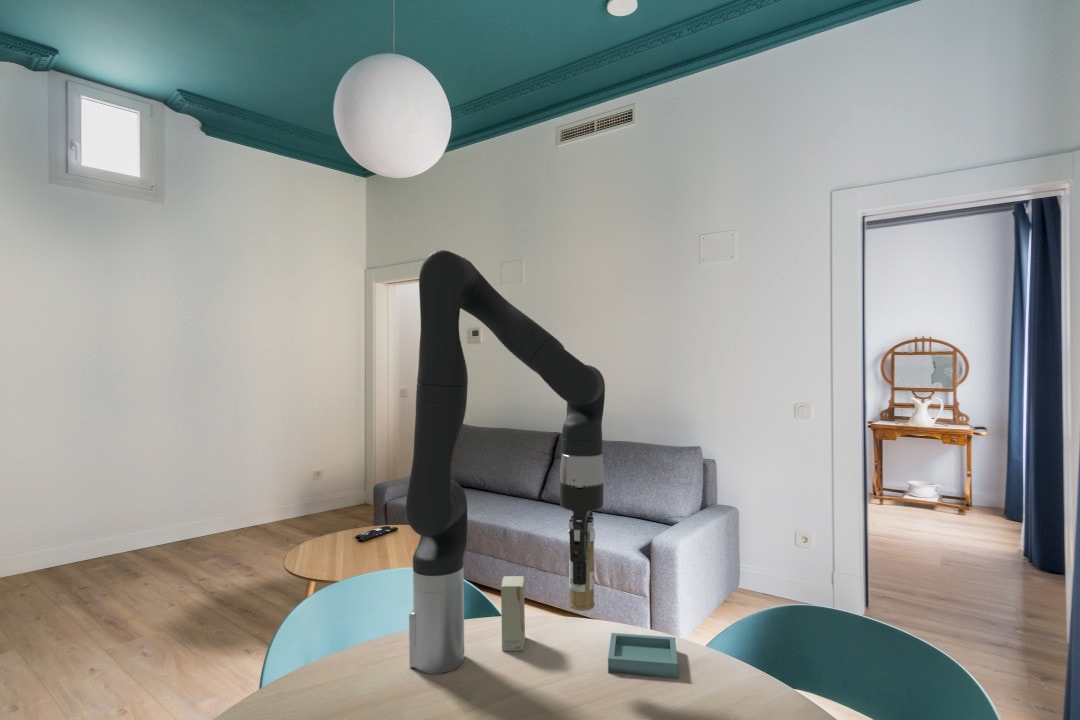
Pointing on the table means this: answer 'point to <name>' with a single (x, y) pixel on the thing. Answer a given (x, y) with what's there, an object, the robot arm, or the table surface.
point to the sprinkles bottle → (584, 594)
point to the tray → (643, 655)
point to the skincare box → (513, 613)
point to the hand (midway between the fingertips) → (581, 578)
